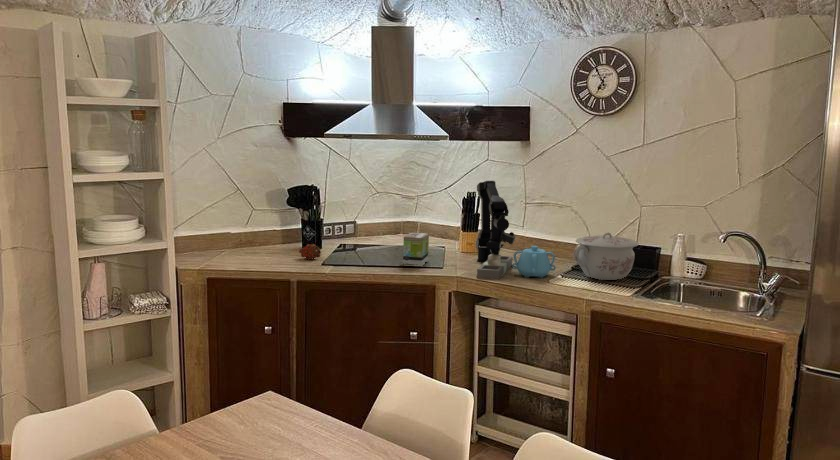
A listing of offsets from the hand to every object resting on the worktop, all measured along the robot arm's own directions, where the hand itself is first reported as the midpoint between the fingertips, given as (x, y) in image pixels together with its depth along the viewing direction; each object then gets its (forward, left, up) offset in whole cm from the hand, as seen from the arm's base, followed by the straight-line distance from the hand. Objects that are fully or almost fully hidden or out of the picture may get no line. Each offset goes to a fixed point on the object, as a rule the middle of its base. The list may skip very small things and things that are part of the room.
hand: (496, 260), depth 313 cm
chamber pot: (+49, +2, -5) cm, 50 cm away
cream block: (0, -4, -1) cm, 4 cm away
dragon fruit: (-94, -6, -5) cm, 94 cm away
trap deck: (0, -1, -5) cm, 5 cm away
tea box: (-40, +1, -5) cm, 40 cm away
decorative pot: (+18, -4, -5) cm, 19 cm away
